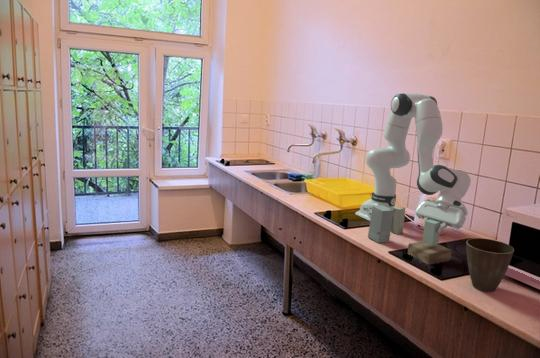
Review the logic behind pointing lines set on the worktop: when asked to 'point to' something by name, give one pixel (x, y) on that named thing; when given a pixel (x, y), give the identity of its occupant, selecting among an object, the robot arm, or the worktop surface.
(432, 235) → the sage column
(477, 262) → the plant pot
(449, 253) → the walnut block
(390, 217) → the skincare box
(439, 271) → the worktop surface
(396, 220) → the box
